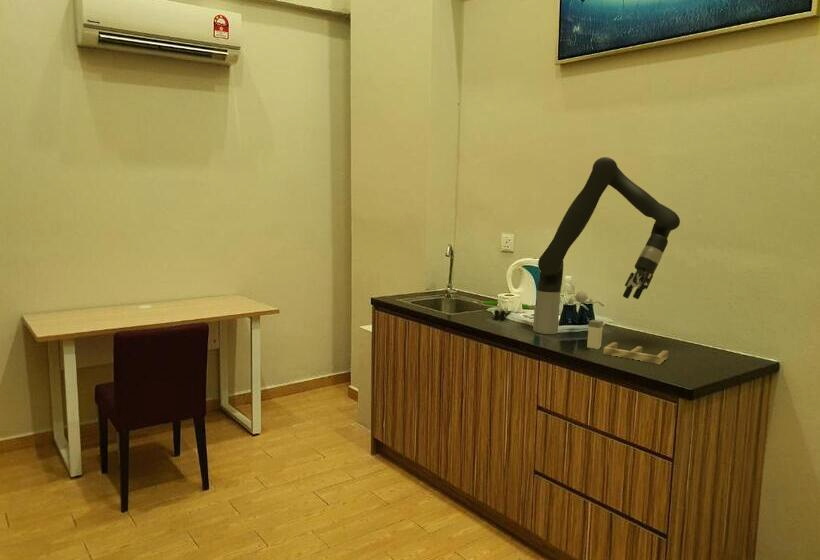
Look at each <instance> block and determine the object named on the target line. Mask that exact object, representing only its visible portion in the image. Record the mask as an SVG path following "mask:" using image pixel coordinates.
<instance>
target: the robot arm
mask: <svg viewBox="0 0 820 560" xmlns="http://www.w3.org/2000/svg"><path fill="white" fill-rule="evenodd" d="M608 186H610V187H611V188H613V189H614V190H616V191H617V192H618V193H619V194H620V195H621V196H622V197H624V198H625V199H626V200H627V201H628V202H629V203H630V204H631V205H632V206H633V207H634V208H635V209H637V210H638V211H639V212H640V213H641V214H642V215H644V216H645V217H646V218H651V219H653V220H655V221H654V224H653V226H652V228H651V233H650V237H649V238H648V239H647V242H646V243H645V246H644V247H643V248H642V250H641V253H640V254H639V256H638V258H637V260H636V262H635V264H634V269H636V271H635V272H630V274H629V276H628V278H627V280H626V282H625V283H624V286H625V287H626V288H625V290H624V292H623V294H622V297H623V298H625V299H629V298H630V296H631V293H632V292H633V290H634V289H635V287H636V289H635V291H634V293H633V295H632V298H634V299H636V300H639V299H640V297H641V295H642V292H643V291H645V290H648V288H649V287H650V283H651V282H652V279H653V277H654V273H655V271H656V269H657V268H658V266H659V263H660V262H661V260H662V256H663V254H664V252H665V250H666V248H667V245H668V242H669V241H668V237H669V235H670V234H671V231H674V230H676V229H678V227H680V224H681V219H680V217H679V215H678V214H677V213H676V212H675V211H674V210H673V209H671V208H669V207H668V206H665V205H664V204H662V203H660V202H658V200H657V199H656V198H654V197H653V196H652V195H651V194H649V192H647V191H646V190H644V189H643V188H641V186H639V185H637V184H636V183H634V182H633V181H632V180H631V179H630V178H629V177H628V176H626V175H625V174H624V173H623V172H622V170H621V169H620V168H619V167H618V164H617V162H616V161H615V160H614V159H613V158H611V157H608V156H607V157H606V156H604V157H603V156H602V157H599V158H598V159H596V160H595V162H593V165H592V170H591V172H590V174H589V177H588V178H587V181H586V182H585V185H584V187H583V188H582V189H581V190H580V192H579V193H578V194H577V196H576V197H575V198H574V199H573V201H572V203H571V204H570V205H569V207H568V209H567V211H566V212H565V214H564V216H563V218H562V220H561V221H560V223H559V225H558V227H557V229H556V232H555V234H554V236H553V238H552V240H551V242H550V243H549V244H548V246H547V248H546V249H545V250H544V252H543V253H542V254H541V255H540V257H539V259H538V261H537V262H538V263H537V265H538V269H539V279H538V282H537V290H536V291H537V295H536V305H535V306H536V308H535V309H533V311H534V312H533V326H532V327H533V328H532V332H535V333H538V334H544V335H555V334H558V331H559V321H560V319H559V318H560V317H559V316H560V304H561V289H562V283H563V276H564V275H563V274H564V273H563V272H564V260H565V256H566V255H567V252H568V251H569V250H570V248H571V246H573V243H574V242H575V241H576V240H577V239H578V237H580V235H581V234H582V232H583V231H584V229H585V228H586V226H588V225H587V224H588V223H589V221H590V219H591V218H592V216H593V214H594V212H595V210H596V208H597V205H598V203H599V201H600V199H601V196H602V195H603V193H604V192H605V191H606V189H607V188H608Z"/></svg>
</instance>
